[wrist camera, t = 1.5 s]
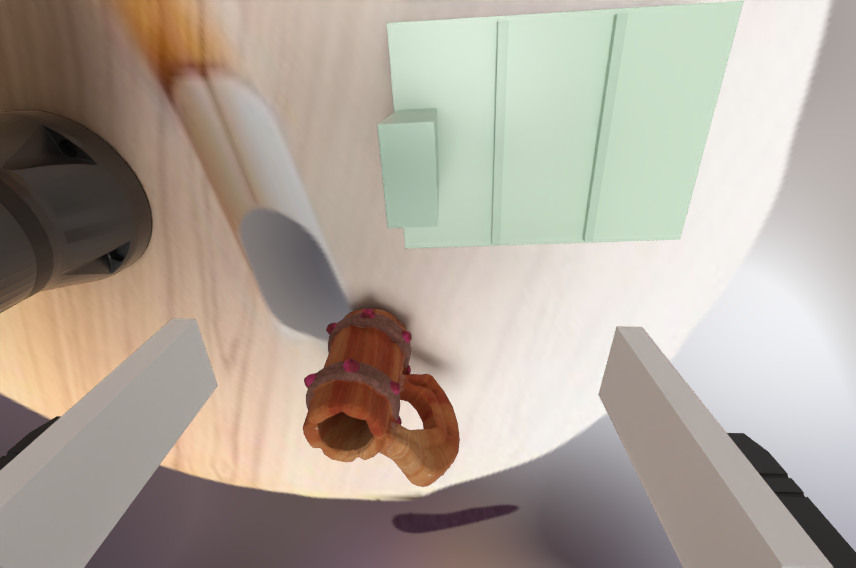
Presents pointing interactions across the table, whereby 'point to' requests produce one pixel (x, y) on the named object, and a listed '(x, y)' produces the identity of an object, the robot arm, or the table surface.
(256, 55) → the table surface
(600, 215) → the lid
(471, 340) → the table surface
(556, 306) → the table surface
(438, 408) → the mug
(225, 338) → the table surface
